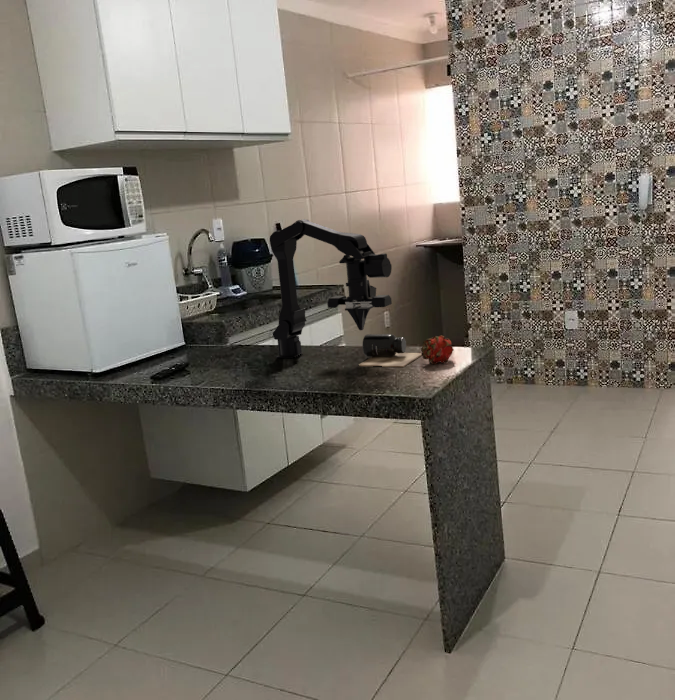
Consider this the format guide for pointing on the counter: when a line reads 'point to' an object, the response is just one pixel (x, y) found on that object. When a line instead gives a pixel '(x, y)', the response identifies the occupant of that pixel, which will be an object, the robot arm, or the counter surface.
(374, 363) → the cork mat
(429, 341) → the dragon fruit
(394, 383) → the counter surface
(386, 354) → the supplement bottle
